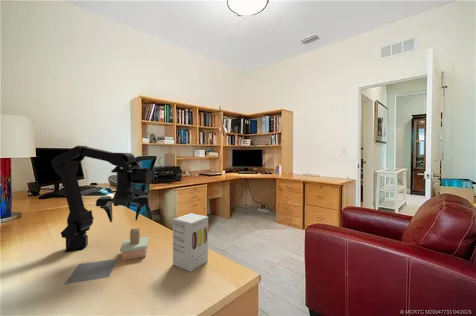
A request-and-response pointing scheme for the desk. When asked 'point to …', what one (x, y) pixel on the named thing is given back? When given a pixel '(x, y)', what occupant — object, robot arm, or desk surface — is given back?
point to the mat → (91, 271)
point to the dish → (134, 254)
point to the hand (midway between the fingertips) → (123, 221)
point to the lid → (134, 241)
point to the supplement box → (190, 241)
